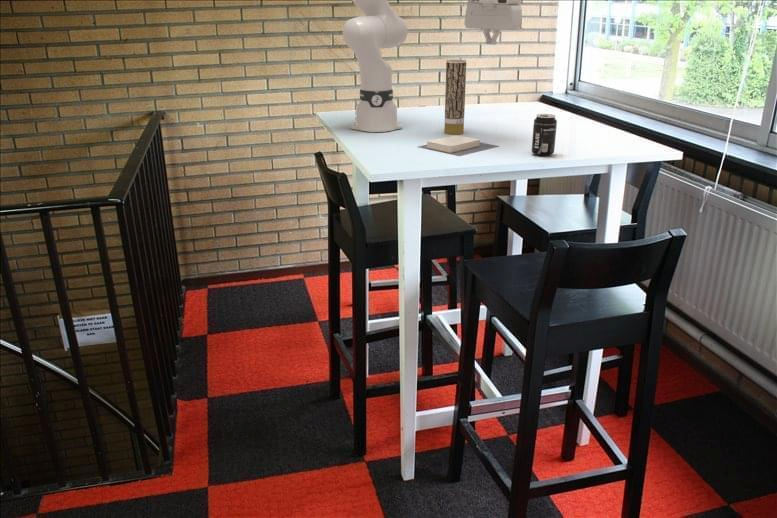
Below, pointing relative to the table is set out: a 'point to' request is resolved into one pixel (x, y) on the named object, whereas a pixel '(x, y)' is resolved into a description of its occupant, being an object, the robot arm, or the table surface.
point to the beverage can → (544, 135)
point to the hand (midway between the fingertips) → (490, 44)
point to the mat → (482, 147)
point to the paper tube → (455, 96)
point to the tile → (453, 144)
